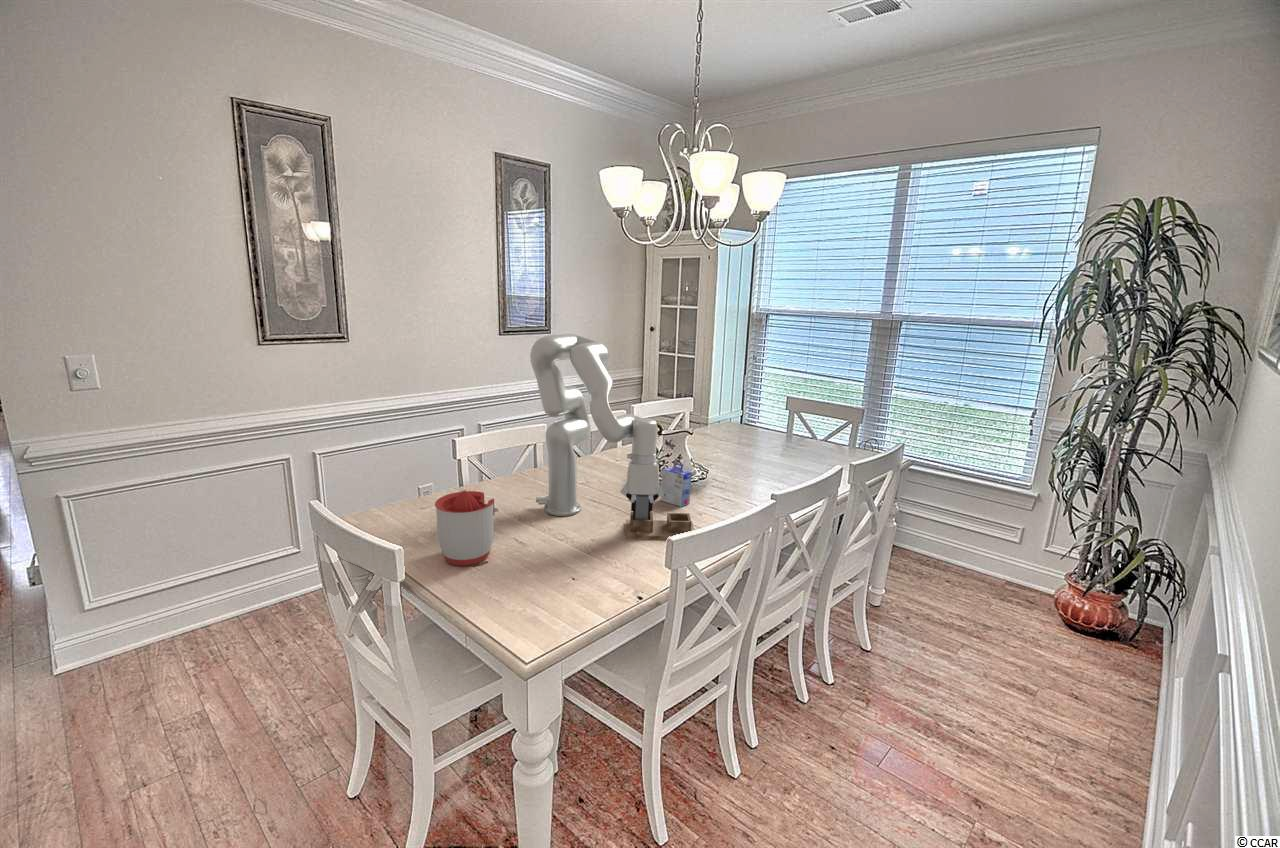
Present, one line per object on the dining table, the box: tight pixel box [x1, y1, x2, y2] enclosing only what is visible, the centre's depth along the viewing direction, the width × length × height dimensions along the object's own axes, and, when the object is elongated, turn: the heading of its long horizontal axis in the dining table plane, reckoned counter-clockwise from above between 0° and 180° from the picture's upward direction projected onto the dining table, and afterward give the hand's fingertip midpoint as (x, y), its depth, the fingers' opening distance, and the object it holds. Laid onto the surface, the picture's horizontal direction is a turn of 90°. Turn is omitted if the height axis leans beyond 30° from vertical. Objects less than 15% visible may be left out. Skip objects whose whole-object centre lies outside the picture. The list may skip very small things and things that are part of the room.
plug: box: [635, 495, 649, 520], centre depth 178 cm, size 4×4×10 cm
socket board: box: [625, 511, 695, 541], centre depth 179 cm, size 22×12×5 cm, turn 91°
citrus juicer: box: [434, 490, 500, 567], centre depth 157 cm, size 16×17×20 cm
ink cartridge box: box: [659, 462, 692, 507], centre depth 204 cm, size 10×6×14 cm, turn 51°
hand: (641, 512), depth 178 cm, fingers closed on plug, 4 cm apart
